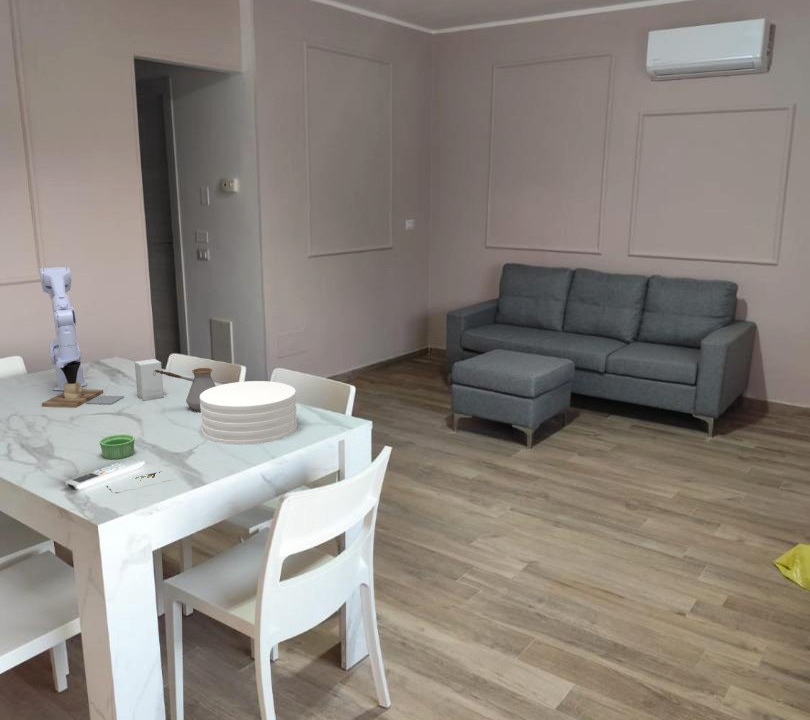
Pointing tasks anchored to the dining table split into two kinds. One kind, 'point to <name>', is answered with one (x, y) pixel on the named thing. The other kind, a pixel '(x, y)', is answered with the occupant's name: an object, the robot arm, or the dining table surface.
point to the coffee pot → (195, 385)
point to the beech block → (72, 390)
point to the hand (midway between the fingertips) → (72, 383)
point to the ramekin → (117, 446)
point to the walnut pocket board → (67, 402)
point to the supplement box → (149, 379)
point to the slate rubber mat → (105, 400)
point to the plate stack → (248, 412)
